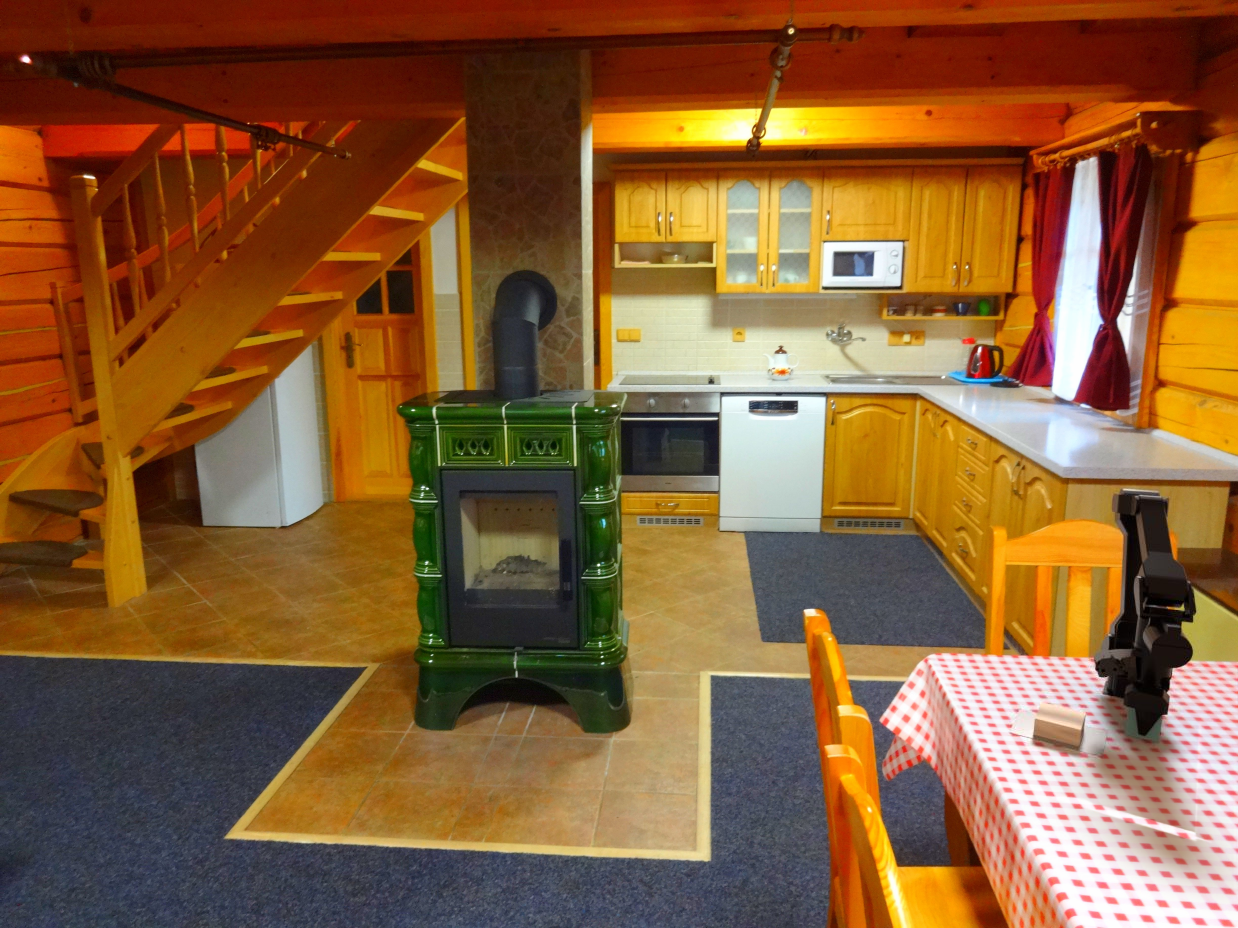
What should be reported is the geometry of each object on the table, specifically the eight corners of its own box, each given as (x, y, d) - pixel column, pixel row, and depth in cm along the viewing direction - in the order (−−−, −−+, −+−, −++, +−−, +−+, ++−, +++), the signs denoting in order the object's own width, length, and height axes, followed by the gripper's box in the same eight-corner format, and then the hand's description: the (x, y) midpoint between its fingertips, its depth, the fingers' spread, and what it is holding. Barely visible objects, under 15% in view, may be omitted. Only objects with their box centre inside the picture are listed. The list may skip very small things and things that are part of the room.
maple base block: (1039, 717, 155) (1041, 701, 154) (1084, 728, 151) (1085, 712, 150) (1033, 734, 149) (1034, 718, 148) (1078, 746, 145) (1080, 729, 144)
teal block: (1126, 724, 153) (1130, 693, 152) (1159, 732, 151) (1164, 700, 149) (1124, 736, 149) (1128, 704, 148) (1158, 745, 147) (1163, 712, 145)
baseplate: (1019, 711, 158) (1020, 708, 158) (1107, 733, 150) (1107, 730, 150) (1009, 735, 150) (1009, 732, 150) (1101, 759, 142) (1101, 756, 142)
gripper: (1105, 615, 158) (1095, 694, 162) (1094, 651, 143) (1083, 738, 147) (1178, 629, 152) (1166, 711, 156) (1174, 667, 137) (1161, 757, 140)
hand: (1143, 728), depth 150 cm, fingers closed on teal block, 5 cm apart
